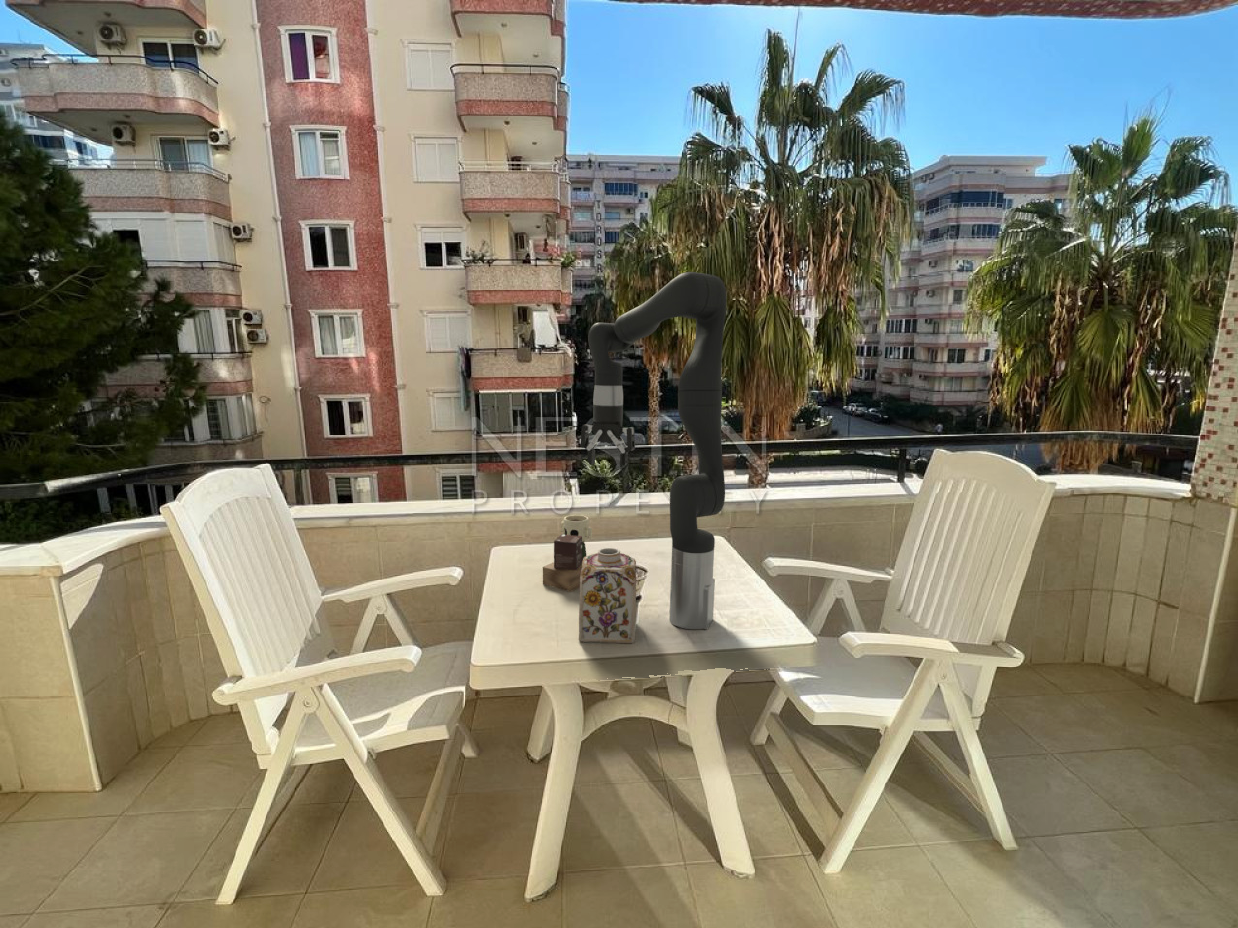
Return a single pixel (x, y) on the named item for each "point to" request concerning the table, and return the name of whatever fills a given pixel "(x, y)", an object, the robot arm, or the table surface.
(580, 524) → the character mug
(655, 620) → the table surface
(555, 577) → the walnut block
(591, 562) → the decorative jar
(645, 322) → the robot arm
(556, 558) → the box
